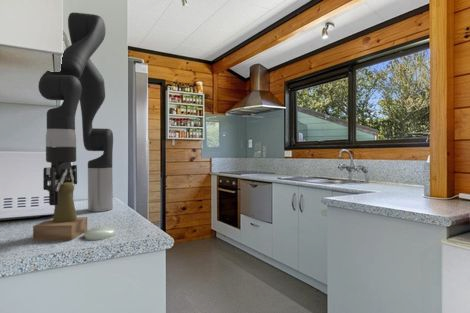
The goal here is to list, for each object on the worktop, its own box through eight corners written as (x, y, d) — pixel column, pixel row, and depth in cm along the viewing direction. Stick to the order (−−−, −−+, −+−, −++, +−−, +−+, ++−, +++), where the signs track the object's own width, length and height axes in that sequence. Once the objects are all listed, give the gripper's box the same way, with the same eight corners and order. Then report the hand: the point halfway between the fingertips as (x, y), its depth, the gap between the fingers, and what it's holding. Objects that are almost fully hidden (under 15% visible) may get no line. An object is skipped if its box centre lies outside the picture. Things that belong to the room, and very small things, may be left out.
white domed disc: (91, 233, 89) (91, 227, 89) (118, 232, 90) (118, 226, 90) (79, 241, 81) (79, 234, 81) (109, 240, 82) (109, 234, 82)
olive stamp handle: (68, 222, 84) (66, 184, 83) (48, 222, 85) (46, 183, 84) (81, 217, 90) (80, 180, 89) (62, 216, 91) (60, 180, 90)
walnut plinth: (53, 230, 90) (53, 217, 90) (87, 230, 91) (87, 217, 91) (33, 240, 80) (33, 226, 80) (71, 240, 81) (71, 225, 81)
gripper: (60, 145, 92) (61, 198, 93) (32, 145, 78) (33, 207, 78) (85, 145, 93) (86, 198, 93) (62, 145, 78) (62, 207, 79)
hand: (61, 202), depth 86 cm, fingers open, 8 cm apart
